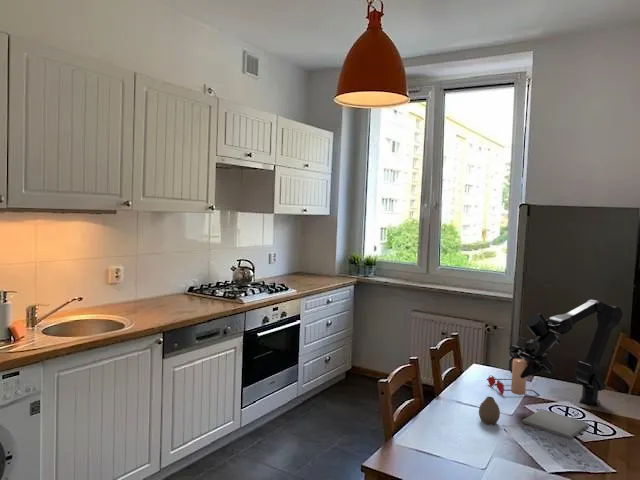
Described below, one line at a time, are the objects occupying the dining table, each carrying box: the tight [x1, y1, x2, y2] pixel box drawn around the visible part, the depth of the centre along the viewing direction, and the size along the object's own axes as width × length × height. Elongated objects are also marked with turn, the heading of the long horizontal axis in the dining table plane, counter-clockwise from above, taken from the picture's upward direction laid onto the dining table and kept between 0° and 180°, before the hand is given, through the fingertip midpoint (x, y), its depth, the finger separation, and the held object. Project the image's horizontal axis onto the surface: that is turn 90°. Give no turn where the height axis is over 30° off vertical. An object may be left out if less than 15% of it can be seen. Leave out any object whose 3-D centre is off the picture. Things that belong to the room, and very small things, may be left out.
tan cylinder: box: [510, 358, 528, 396], centre depth 189 cm, size 5×5×12 cm
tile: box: [521, 408, 589, 440], centre depth 177 cm, size 16×16×1 cm
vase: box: [478, 396, 501, 426], centre depth 177 cm, size 7×7×9 cm
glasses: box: [486, 374, 540, 396], centre depth 212 cm, size 14×16×5 cm
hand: (516, 375), depth 189 cm, fingers closed on tan cylinder, 5 cm apart
